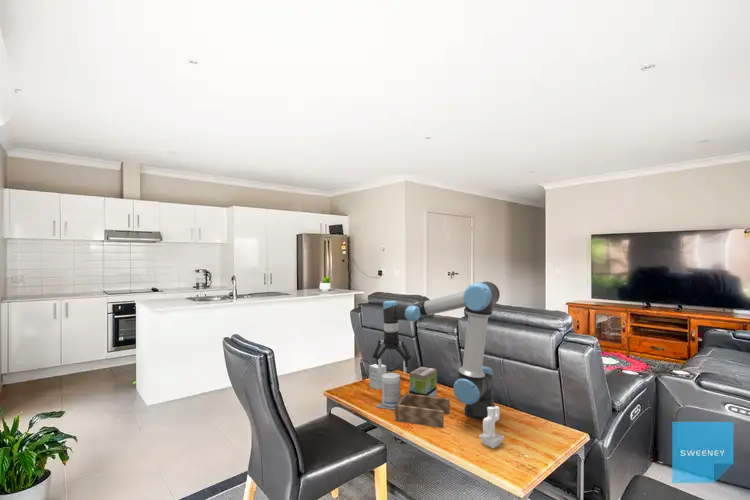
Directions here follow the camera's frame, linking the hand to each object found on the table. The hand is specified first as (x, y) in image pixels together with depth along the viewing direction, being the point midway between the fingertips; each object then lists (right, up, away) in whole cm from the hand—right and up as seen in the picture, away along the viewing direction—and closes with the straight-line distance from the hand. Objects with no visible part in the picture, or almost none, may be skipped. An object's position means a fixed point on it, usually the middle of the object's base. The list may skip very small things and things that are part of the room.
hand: (392, 372), depth 197 cm
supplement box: (-7, -17, +27) cm, 33 cm away
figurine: (+38, -16, -42) cm, 59 cm away
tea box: (+17, -17, +9) cm, 26 cm away
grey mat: (0, -17, 0) cm, 17 cm away
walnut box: (+14, -16, -15) cm, 26 cm away
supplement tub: (-1, -16, 0) cm, 16 cm away
